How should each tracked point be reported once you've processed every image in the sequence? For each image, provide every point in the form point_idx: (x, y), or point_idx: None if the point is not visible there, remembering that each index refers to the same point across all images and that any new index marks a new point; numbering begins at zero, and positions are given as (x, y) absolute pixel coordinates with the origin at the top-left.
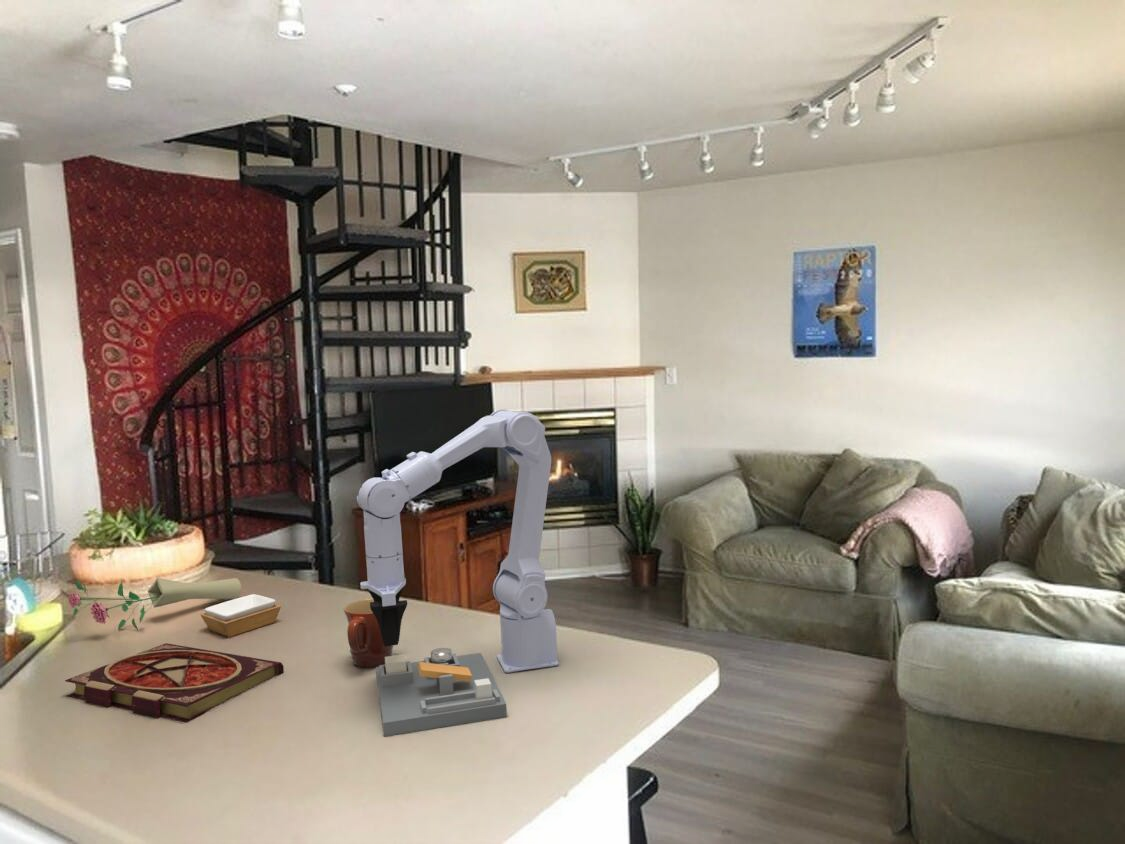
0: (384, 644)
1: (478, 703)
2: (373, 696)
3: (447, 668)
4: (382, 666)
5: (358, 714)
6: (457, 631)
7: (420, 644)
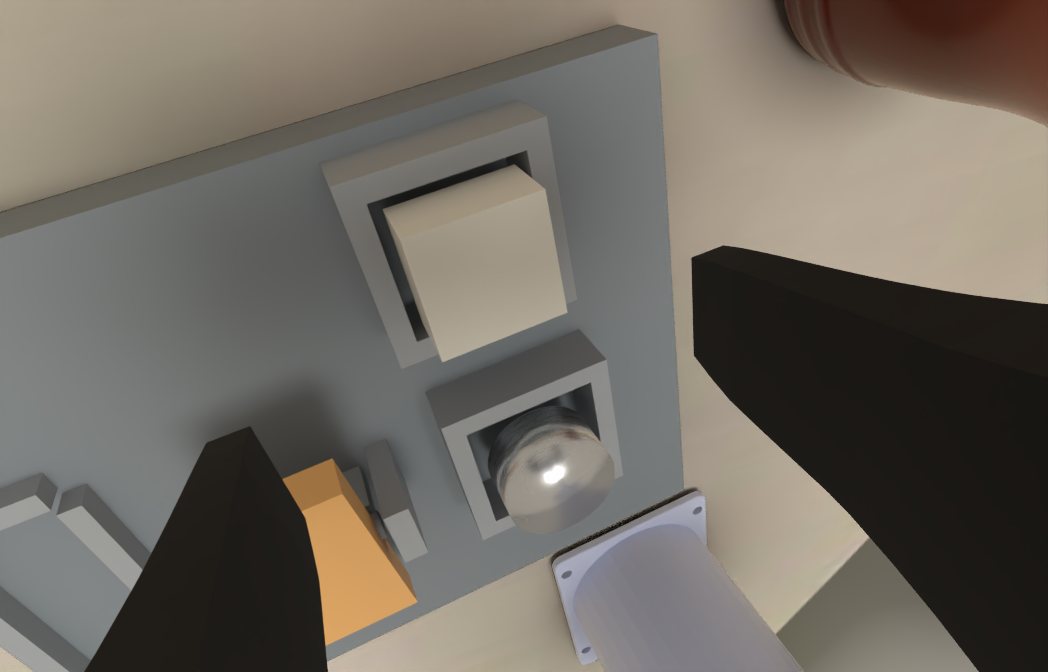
0: (198, 459)
1: None
2: (363, 65)
3: (336, 586)
4: (518, 146)
5: (43, 19)
6: (981, 285)
7: (941, 167)
